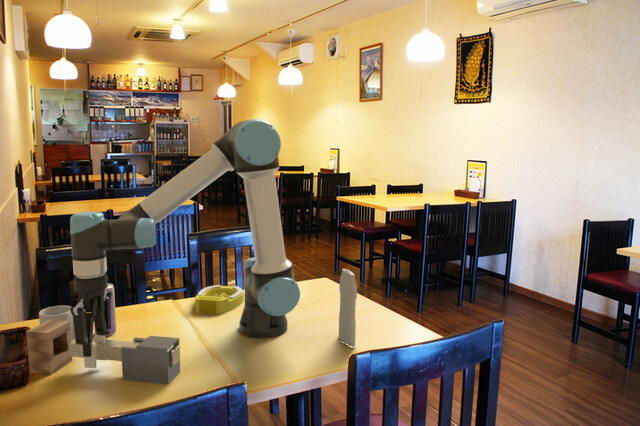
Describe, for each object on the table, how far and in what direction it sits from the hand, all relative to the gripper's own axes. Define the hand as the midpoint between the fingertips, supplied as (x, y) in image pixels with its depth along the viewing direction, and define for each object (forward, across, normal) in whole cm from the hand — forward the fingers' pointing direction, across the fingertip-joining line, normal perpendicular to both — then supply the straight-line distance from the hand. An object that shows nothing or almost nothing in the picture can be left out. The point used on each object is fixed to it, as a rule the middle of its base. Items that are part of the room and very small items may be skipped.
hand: (95, 363), depth 121 cm
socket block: (+2, 0, -13) cm, 13 cm away
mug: (+2, -12, -18) cm, 22 cm away
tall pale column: (+3, -30, +61) cm, 68 cm away
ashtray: (+3, -55, +12) cm, 56 cm away
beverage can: (+2, -22, -12) cm, 25 cm away
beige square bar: (-2, 0, +8) cm, 8 cm away
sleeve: (+2, 0, +15) cm, 15 cm away
